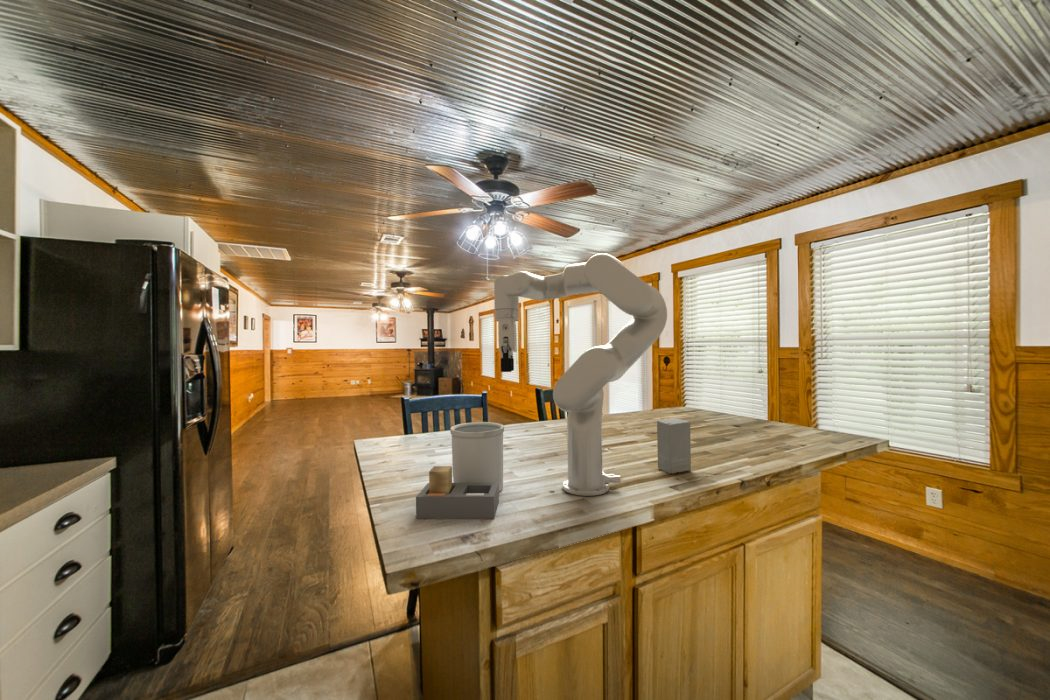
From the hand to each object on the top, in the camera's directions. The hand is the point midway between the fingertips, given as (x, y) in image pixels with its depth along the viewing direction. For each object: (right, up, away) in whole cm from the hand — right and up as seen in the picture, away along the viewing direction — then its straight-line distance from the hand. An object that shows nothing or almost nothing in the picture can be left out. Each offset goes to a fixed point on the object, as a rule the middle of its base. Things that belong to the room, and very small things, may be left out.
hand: (507, 371), depth 122 cm
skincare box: (+53, -32, +3) cm, 62 cm away
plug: (-15, -32, -27) cm, 44 cm away
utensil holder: (-8, -33, -12) cm, 35 cm away
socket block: (-10, -32, -27) cm, 43 cm away
